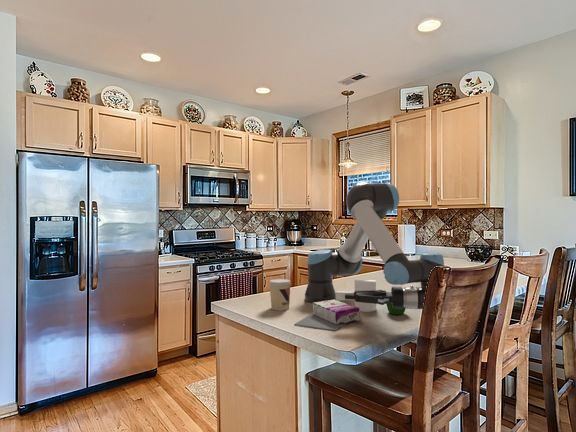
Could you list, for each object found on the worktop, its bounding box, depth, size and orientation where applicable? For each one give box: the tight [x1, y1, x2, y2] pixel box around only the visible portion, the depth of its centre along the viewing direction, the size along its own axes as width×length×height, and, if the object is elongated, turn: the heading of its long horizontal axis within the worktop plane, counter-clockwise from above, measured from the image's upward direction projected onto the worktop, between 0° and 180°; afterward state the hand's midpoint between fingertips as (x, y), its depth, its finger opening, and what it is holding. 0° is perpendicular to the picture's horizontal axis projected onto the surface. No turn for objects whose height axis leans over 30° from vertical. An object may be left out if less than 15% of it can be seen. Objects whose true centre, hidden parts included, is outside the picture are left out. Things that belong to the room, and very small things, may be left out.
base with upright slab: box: [354, 279, 377, 313], centre depth 151 cm, size 9×9×12 cm
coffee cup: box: [268, 278, 292, 311], centre depth 154 cm, size 9×9×12 cm
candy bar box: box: [312, 299, 361, 324], centre depth 137 cm, size 11×5×16 cm
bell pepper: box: [386, 302, 406, 316], centre depth 144 cm, size 8×8×10 cm
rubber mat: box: [294, 312, 346, 332], centre depth 133 cm, size 16×17×1 cm
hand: (335, 295), depth 129 cm, fingers closed
